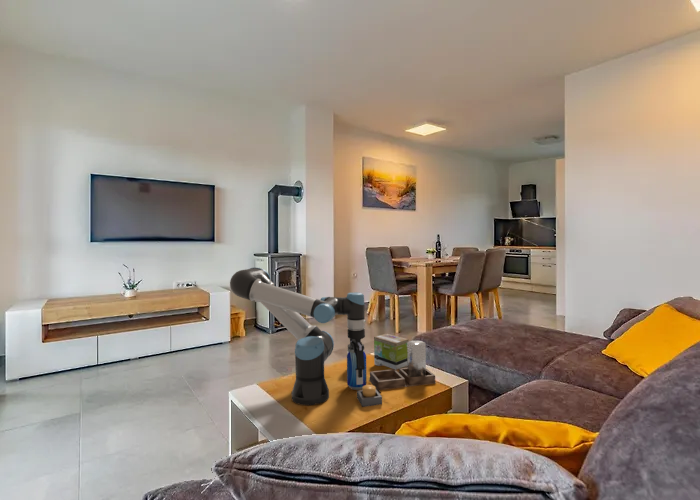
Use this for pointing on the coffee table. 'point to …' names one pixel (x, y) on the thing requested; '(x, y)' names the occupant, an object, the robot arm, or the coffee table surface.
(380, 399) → the button housing
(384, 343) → the tea box
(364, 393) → the button
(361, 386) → the beer can
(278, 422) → the coffee table surface
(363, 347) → the jar
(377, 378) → the tray
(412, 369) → the billet
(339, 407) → the coffee table surface
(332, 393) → the coffee table surface
